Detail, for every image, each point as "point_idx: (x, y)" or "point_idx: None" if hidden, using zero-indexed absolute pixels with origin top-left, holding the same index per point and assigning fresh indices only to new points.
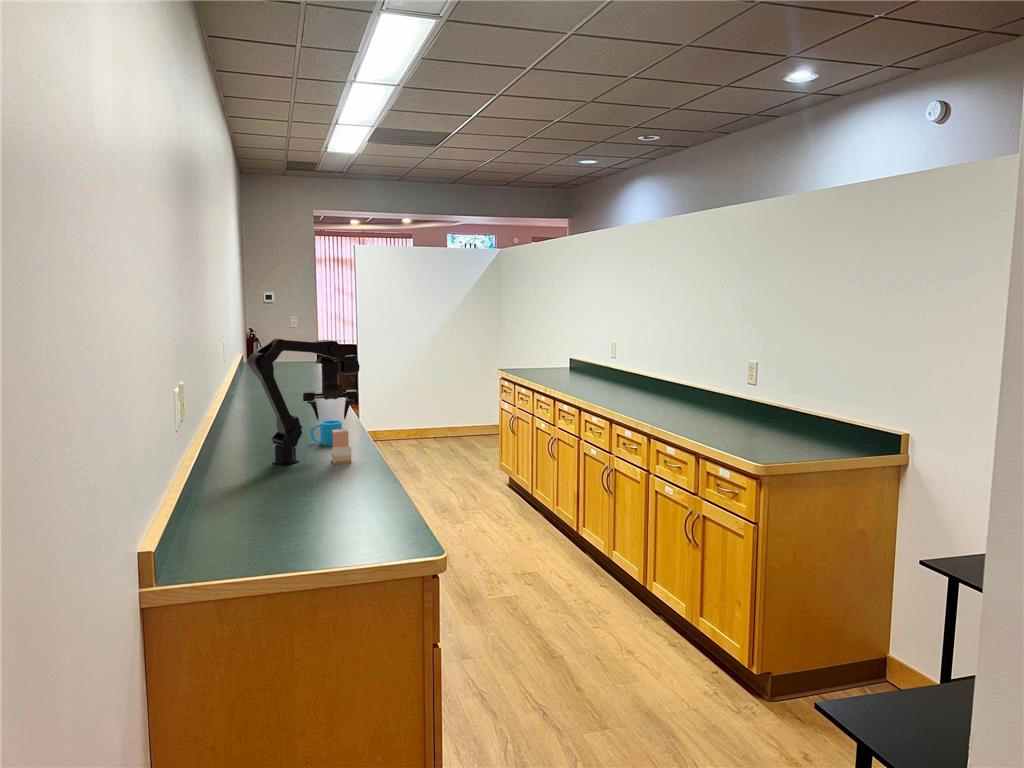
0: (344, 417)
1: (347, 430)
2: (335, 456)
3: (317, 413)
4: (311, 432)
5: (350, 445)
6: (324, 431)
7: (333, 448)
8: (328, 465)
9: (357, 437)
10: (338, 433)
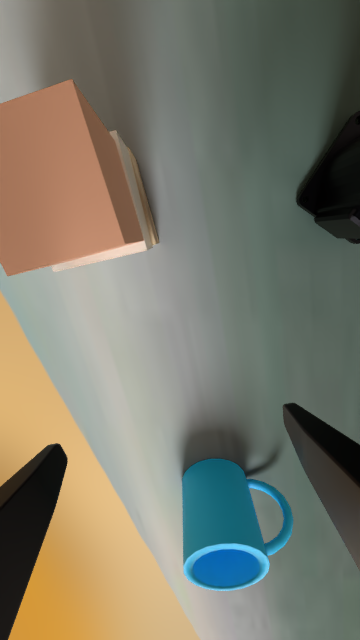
0: (45, 453)
1: None
2: None
3: (333, 454)
4: (287, 512)
5: None
6: (240, 509)
7: (116, 134)
8: (150, 120)
9: (153, 532)
10: (29, 104)
